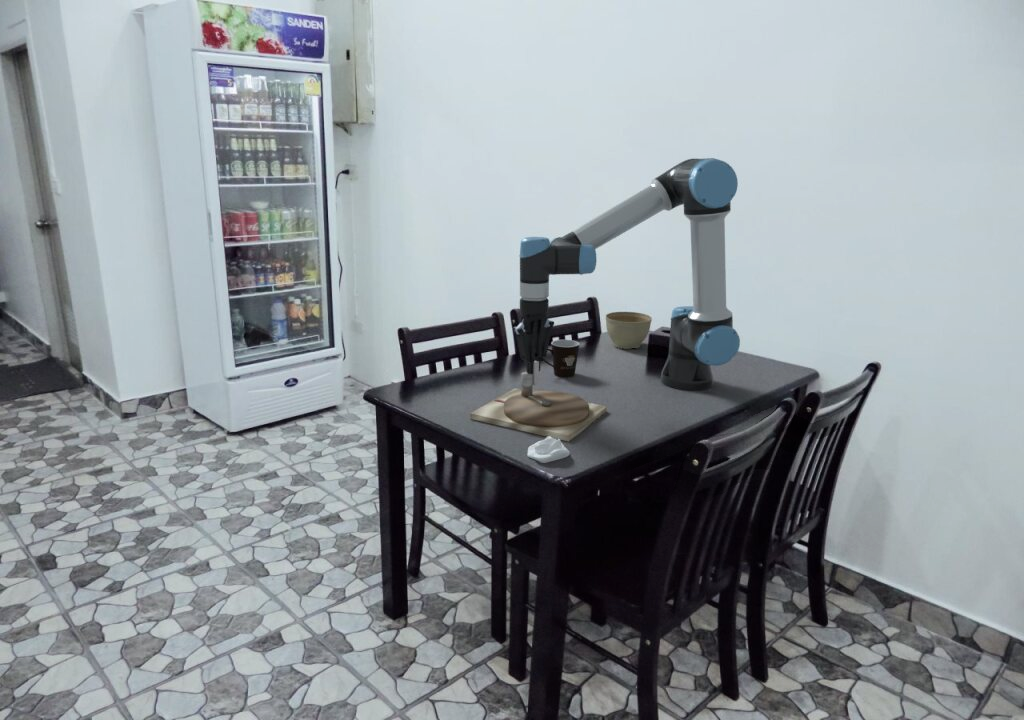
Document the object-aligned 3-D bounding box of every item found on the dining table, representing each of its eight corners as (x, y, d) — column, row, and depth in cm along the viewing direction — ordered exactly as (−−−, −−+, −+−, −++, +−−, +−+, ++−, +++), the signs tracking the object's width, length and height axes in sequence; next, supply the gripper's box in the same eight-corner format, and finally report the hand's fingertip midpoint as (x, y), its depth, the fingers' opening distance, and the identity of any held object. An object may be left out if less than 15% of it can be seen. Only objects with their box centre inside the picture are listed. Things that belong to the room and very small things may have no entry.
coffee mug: (578, 370, 214) (579, 340, 211) (578, 379, 206) (579, 347, 203) (541, 369, 215) (542, 338, 212) (539, 377, 207) (540, 346, 204)
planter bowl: (603, 351, 236) (604, 320, 233) (605, 339, 251) (606, 310, 248) (650, 353, 233) (652, 322, 230) (649, 341, 248) (651, 312, 245)
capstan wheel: (606, 415, 172) (608, 387, 170) (535, 433, 161) (536, 403, 159) (555, 391, 190) (555, 365, 188) (487, 405, 178) (487, 378, 176)
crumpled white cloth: (565, 449, 146) (521, 443, 149) (564, 468, 147) (521, 462, 150) (574, 432, 155) (533, 427, 158) (573, 450, 156) (533, 444, 159)
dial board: (606, 411, 180) (606, 405, 179) (568, 441, 160) (569, 434, 160) (514, 393, 193) (514, 387, 192) (470, 418, 174) (470, 412, 173)
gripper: (542, 292, 182) (541, 375, 189) (505, 298, 174) (506, 385, 181) (562, 296, 177) (560, 382, 184) (525, 303, 169) (524, 392, 176)
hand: (533, 383), depth 182 cm, fingers closed
